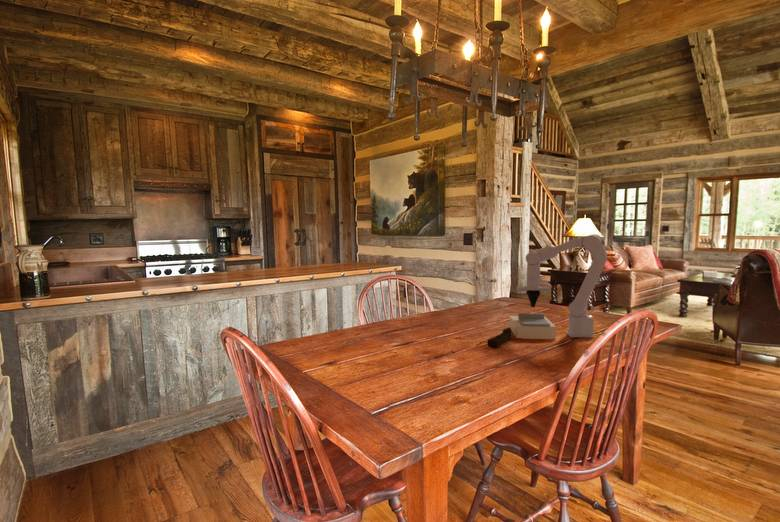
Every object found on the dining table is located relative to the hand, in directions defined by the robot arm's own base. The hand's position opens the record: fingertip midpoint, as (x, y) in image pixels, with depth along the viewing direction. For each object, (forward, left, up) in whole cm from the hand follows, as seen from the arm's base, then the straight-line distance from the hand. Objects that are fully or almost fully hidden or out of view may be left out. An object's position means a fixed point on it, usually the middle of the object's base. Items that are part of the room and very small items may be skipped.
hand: (532, 306), depth 184 cm
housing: (+2, +7, -10) cm, 13 cm away
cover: (+2, +11, -5) cm, 12 cm away
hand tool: (+18, +21, -11) cm, 30 cm away
